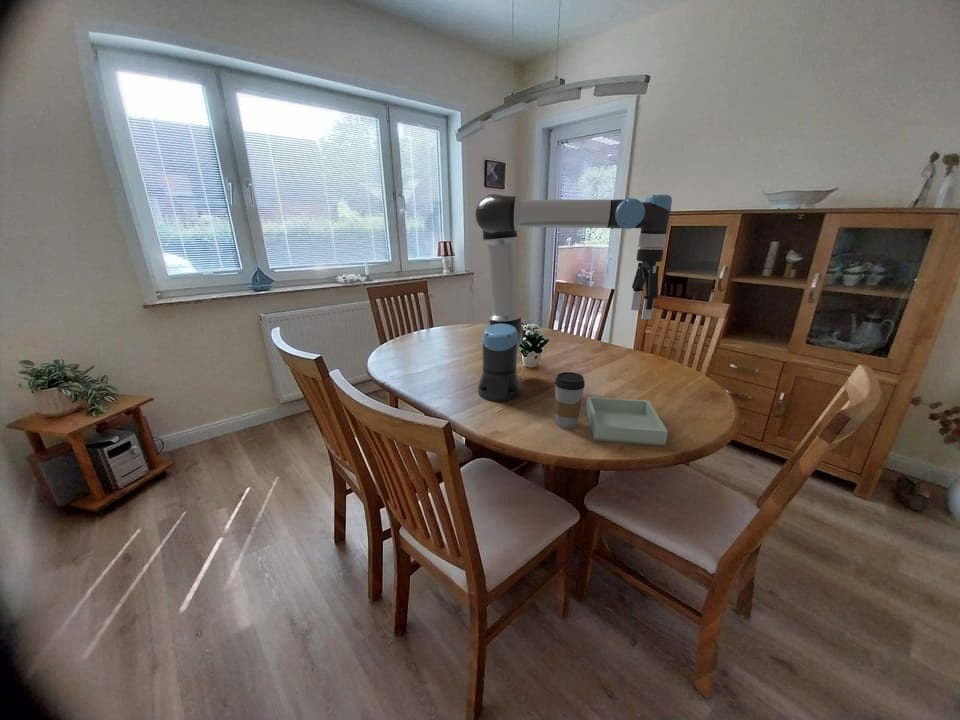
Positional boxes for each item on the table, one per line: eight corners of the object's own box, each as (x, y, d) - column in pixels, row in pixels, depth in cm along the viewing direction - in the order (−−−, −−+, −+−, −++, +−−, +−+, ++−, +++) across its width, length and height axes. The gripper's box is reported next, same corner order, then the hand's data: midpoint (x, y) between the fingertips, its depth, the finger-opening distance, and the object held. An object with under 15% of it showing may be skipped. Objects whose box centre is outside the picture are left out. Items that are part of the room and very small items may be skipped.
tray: (593, 440, 98) (595, 426, 97) (585, 409, 115) (587, 396, 114) (665, 446, 96) (668, 431, 94) (646, 413, 113) (648, 400, 111)
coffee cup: (575, 433, 101) (580, 385, 96) (547, 425, 106) (550, 378, 101) (584, 421, 108) (589, 375, 103) (557, 414, 112) (561, 369, 107)
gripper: (678, 250, 102) (664, 323, 109) (651, 246, 125) (641, 307, 132) (650, 250, 103) (638, 323, 110) (628, 246, 126) (620, 306, 133)
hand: (640, 314), depth 121 cm, fingers open, 13 cm apart
